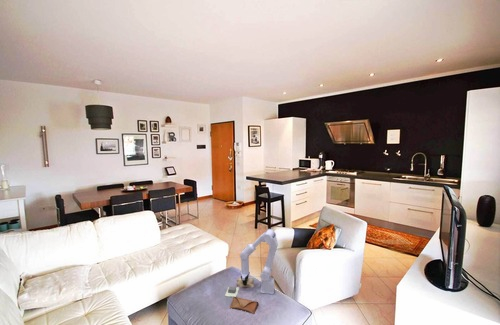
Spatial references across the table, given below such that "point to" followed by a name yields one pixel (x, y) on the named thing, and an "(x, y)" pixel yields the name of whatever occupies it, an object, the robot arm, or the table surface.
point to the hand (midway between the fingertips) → (245, 283)
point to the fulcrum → (231, 292)
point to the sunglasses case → (244, 305)
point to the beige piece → (249, 282)
